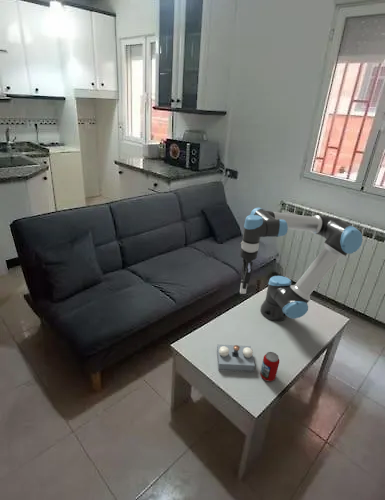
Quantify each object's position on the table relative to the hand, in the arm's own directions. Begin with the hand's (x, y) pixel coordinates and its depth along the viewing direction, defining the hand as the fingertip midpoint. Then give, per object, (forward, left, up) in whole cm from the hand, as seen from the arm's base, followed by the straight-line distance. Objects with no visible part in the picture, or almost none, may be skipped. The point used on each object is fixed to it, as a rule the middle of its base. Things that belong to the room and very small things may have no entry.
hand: (242, 292), depth 149 cm
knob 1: (+9, +18, -25) cm, 32 cm away
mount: (+3, +18, -26) cm, 32 cm away
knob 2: (-2, +18, -25) cm, 31 cm away
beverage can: (-11, +26, -27) cm, 39 cm away
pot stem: (+3, +18, -22) cm, 29 cm away
